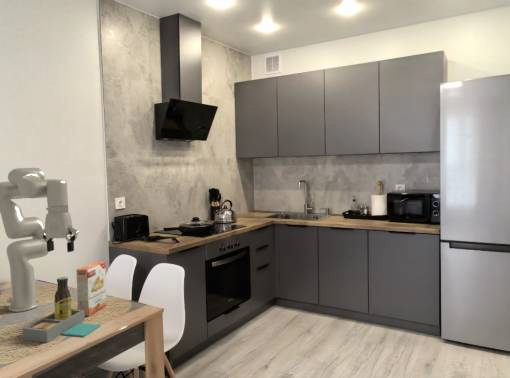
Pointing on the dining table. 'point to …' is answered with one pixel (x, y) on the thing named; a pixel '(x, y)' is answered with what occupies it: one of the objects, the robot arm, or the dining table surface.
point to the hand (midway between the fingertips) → (60, 251)
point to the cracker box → (91, 287)
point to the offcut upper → (44, 325)
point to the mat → (81, 330)
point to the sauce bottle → (62, 300)
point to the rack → (55, 330)
